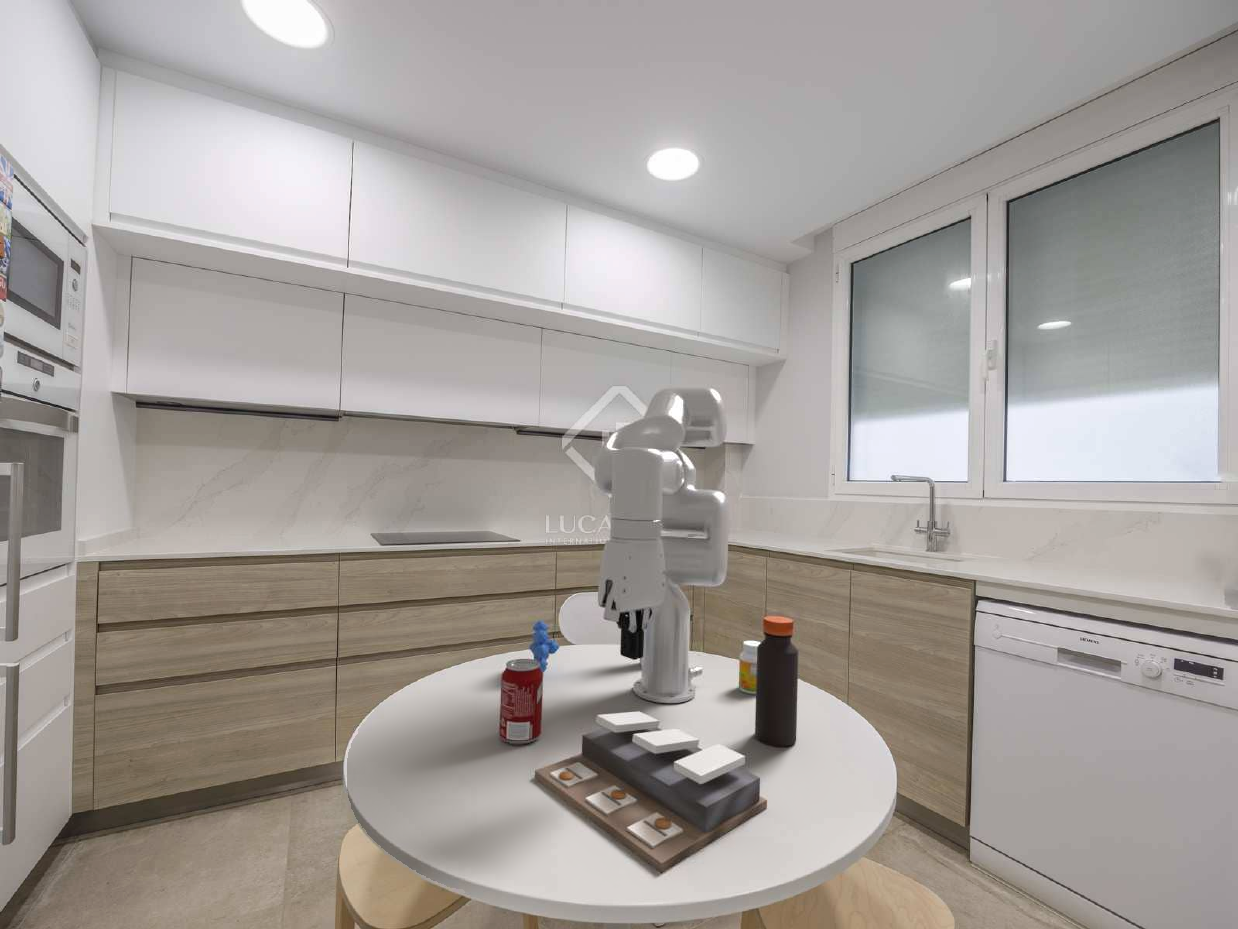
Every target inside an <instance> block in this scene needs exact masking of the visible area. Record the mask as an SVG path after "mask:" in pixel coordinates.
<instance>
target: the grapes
mask: <svg viewBox="0 0 1238 929" xmlns="http://www.w3.org/2000/svg"><path fill="white" fill-rule="evenodd" d="M549 628H550V627H549V626H548V624H547V623H546V622H545V621H544V620H540V621H537V622H536V623H535V624H534V625H533V627H532V629H533V631H534V633H533V635H532V636H531V638H532V640H533V642H531V644H530V645H529V646H528V649H529V651H530V652H531V653H532V655H533V660H536V661H538V662H539V663H540V666H539V667H540V669H541V671H542V672H543V674H544V673H545V671H546V670H547V669H548V667H547V666H548V664H549V663H548V662H547V660H548V659H549V657H550V655H554V654H555V653H556V652H557V651H559V649H560V645H559V644H558V642H557V641H556V640H554V639H551V640H550V636H549V634H548V633H547V631H548V630H549Z"/></svg>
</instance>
